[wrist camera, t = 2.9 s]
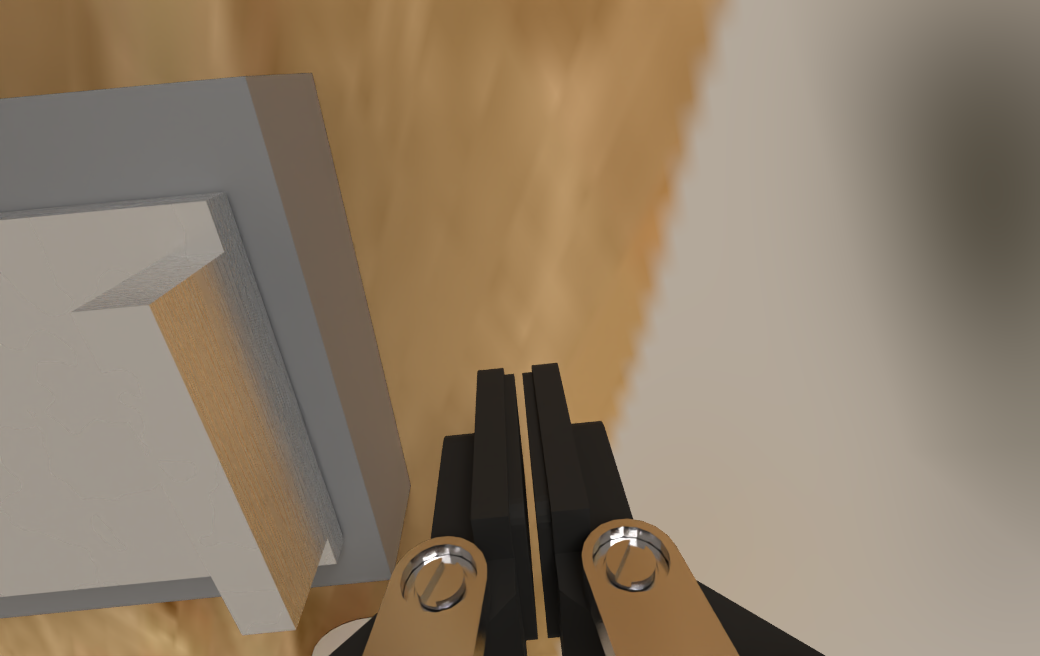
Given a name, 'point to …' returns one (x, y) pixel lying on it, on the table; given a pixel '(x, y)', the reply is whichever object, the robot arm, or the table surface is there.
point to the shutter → (151, 412)
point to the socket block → (274, 261)
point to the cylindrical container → (337, 637)
